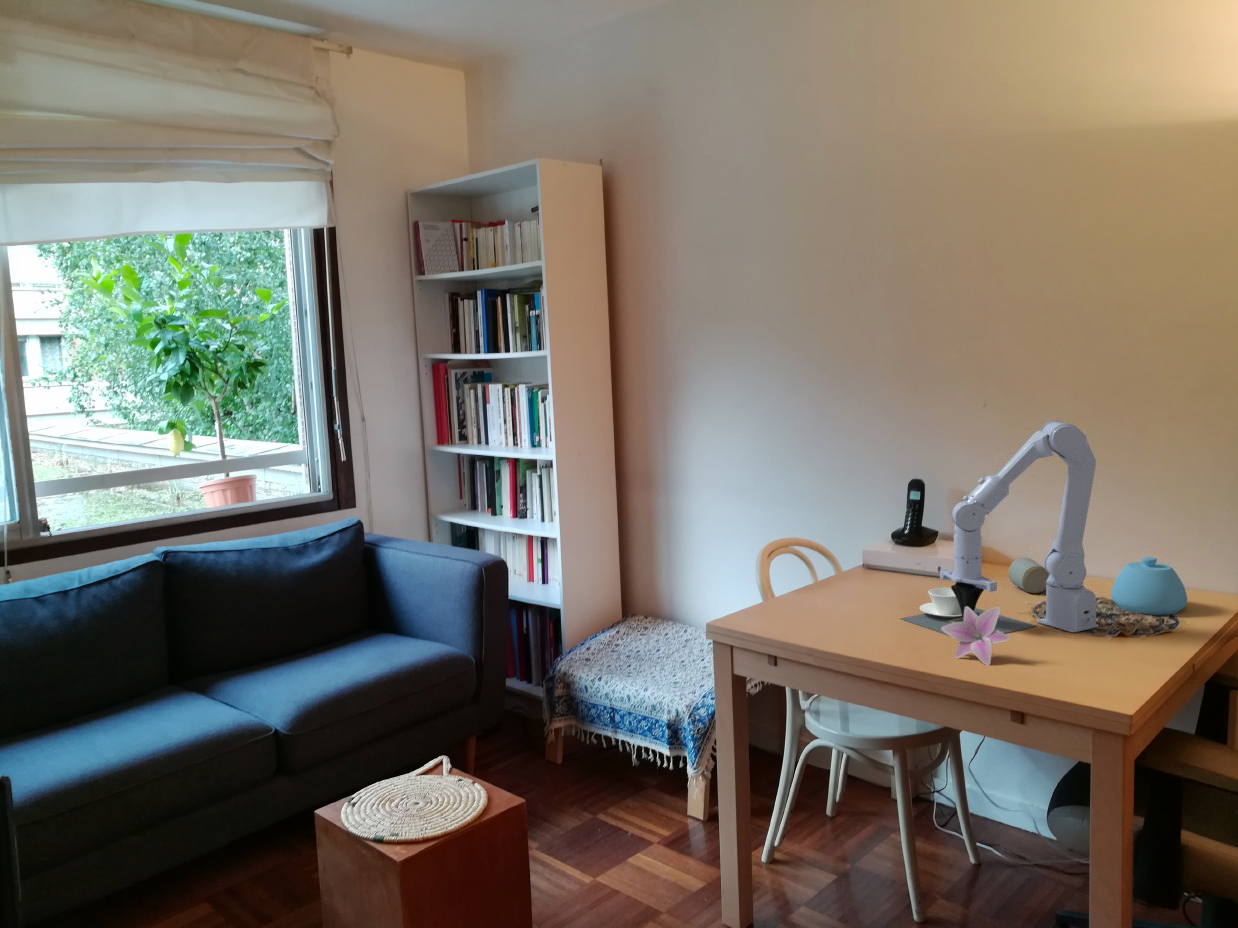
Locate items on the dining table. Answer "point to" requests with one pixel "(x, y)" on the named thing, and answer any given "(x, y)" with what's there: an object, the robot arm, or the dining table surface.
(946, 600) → the teacup
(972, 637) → the lily
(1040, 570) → the ceramic mug
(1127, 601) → the sugar bowl
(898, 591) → the dining table surface
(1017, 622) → the label mat
